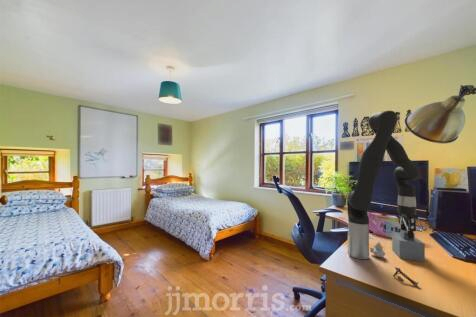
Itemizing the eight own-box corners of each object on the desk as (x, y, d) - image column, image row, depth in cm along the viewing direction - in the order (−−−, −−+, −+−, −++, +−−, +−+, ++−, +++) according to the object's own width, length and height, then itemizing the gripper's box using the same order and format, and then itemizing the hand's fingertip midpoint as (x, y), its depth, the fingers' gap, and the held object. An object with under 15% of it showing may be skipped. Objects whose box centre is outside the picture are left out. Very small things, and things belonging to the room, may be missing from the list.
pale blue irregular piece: (383, 260, 102) (383, 243, 102) (368, 255, 106) (368, 240, 106) (386, 256, 105) (386, 241, 105) (371, 252, 110) (371, 237, 110)
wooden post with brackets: (392, 273, 88) (397, 265, 86) (413, 290, 81) (419, 282, 80) (390, 274, 87) (395, 266, 85) (411, 291, 80) (417, 283, 79)
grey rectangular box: (399, 258, 104) (399, 233, 104) (392, 250, 114) (392, 227, 114) (424, 261, 101) (424, 236, 101) (415, 253, 110) (414, 229, 110)
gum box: (414, 239, 131) (414, 218, 131) (412, 242, 125) (412, 220, 126) (371, 230, 149) (371, 211, 149) (367, 232, 143) (367, 213, 144)
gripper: (393, 201, 116) (393, 230, 115) (403, 206, 102) (403, 239, 102) (409, 202, 113) (409, 232, 113) (422, 207, 100) (422, 241, 99)
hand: (406, 235), depth 107 cm, fingers open, 8 cm apart
